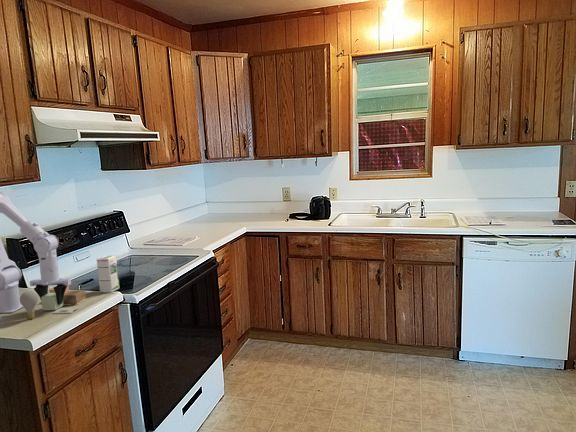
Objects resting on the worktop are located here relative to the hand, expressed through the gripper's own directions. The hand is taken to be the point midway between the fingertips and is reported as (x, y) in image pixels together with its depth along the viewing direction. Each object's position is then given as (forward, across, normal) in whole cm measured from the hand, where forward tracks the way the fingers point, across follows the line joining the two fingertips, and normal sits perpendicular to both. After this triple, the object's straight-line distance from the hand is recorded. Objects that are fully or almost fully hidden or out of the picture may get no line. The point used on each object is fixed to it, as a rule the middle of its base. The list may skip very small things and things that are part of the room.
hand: (52, 304), depth 156 cm
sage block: (+1, 0, 0) cm, 1 cm away
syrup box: (+2, +11, +22) cm, 25 cm away
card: (+2, +7, -3) cm, 7 cm away
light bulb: (+2, -2, -10) cm, 10 cm away
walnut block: (+2, +4, +7) cm, 8 cm away
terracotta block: (+2, -4, +11) cm, 12 cm away
